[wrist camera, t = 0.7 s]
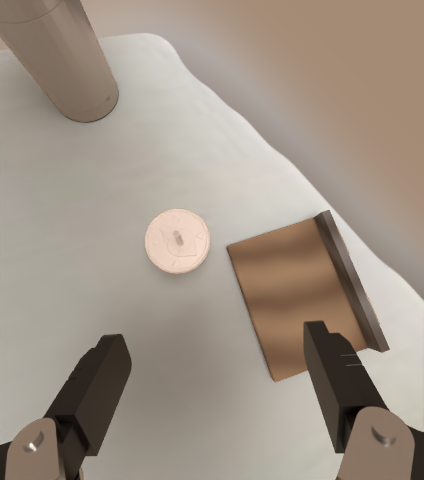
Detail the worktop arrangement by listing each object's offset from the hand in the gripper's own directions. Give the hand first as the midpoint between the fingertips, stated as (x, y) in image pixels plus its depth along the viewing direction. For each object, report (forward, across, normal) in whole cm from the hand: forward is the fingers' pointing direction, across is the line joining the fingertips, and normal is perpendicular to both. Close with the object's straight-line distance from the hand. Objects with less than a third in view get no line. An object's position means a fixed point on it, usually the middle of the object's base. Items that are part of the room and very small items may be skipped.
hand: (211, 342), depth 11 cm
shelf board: (+20, -8, +12) cm, 25 cm away
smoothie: (+22, +6, +6) cm, 24 cm away
